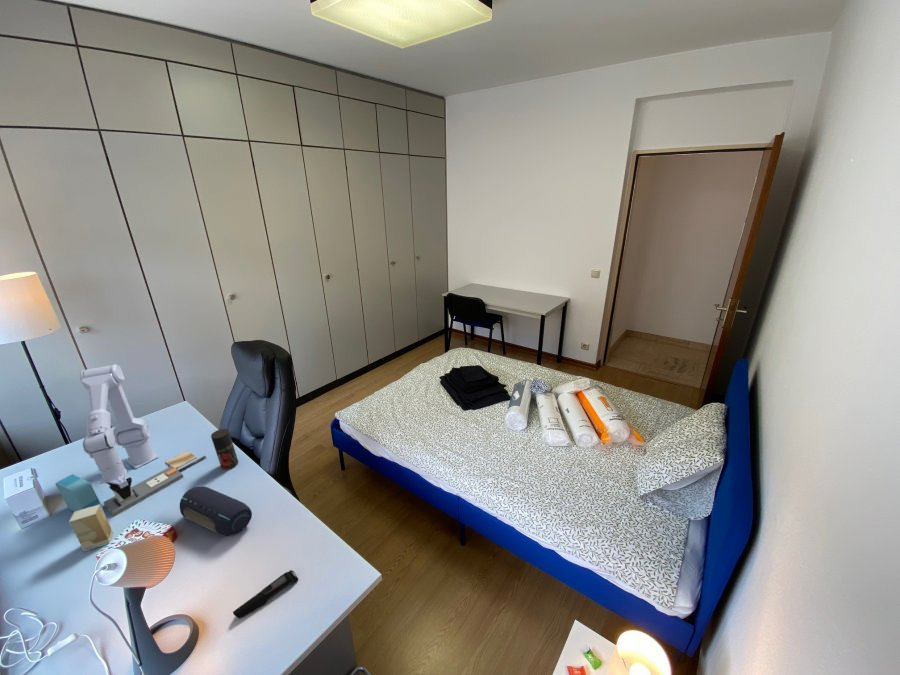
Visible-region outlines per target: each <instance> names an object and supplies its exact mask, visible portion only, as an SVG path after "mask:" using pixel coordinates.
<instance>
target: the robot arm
mask: <svg viewBox="0 0 900 675" xmlns="http://www.w3.org/2000/svg"><path fill="white" fill-rule="evenodd" d="M125 378H126V377H125V375H124V372H123V370H122V367H121V366H120V365H118V364H112V365H110V364H109V365H104V366H100V367H95V368H89V369H83V370H81V372H80V374H79V381H80V383H81V385H82V386H83V387H84V388H85V389H86V390H87V391H88V395H89V401H90V410H91V411H90V413H88V415H87V416H86V437H84V438H83V440H82V448H83V451H84V452H85V454H87V455H88V456H89V458H91V459H93V460H94V462H95V464H96V466H97V468H98V471H99V472H100V474H101V477H102V478H101V479H99V480H98V482H99V484H100V485H102V484H106V485H109V486H108V488H109V489H110V490H111V491H112V490H113V491H115V492H117V493H118V494H119V495H120V497H121V498H122V499H126V498H128V497H130V496H131V489H130V486H131V485H132V481H133V478H131V477H127V475H128V474H127V473H128V471H127V469H126V468H125V465H124V464H123V461H122V459H121V457H120V455H119V453H118V451H117V448H116V446H115V444H116V445H117V446H119V447H122V449H123V448H124V449H125V452H126V454H127V456H128V458H127V459H126V461H127V463H129V465H131V467H133V468H134V469H138V468H140V467H142V466H145V465H147V464H148V463H151V462H152V461H154V460H156V459H158V458H159V455H158V454H156V453H155V452H154V450H153V448H152V446H151V443H150V441H149V439H150V437H151V434H152V433H151V429H150V425H148V423H147V421H146V420H145V419H143V418H138V417H135V416H134V414H133V411H132V409H131V406H130V404H129V401H128V399H127V395H126V394H125V391H124V389H123V386H122V383H123V382H125V381H126V380H125ZM108 402H109V404H110V407H111V409H112V412H113V414H114V417H115V419H116V421H117V424H116V425H115V426H114V428H113V429H112V424H111V422H112V419H111V418H112V415H111V412H109V411H107V404H108ZM131 487H132V486H131ZM113 491H112V492H113Z"/></svg>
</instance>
